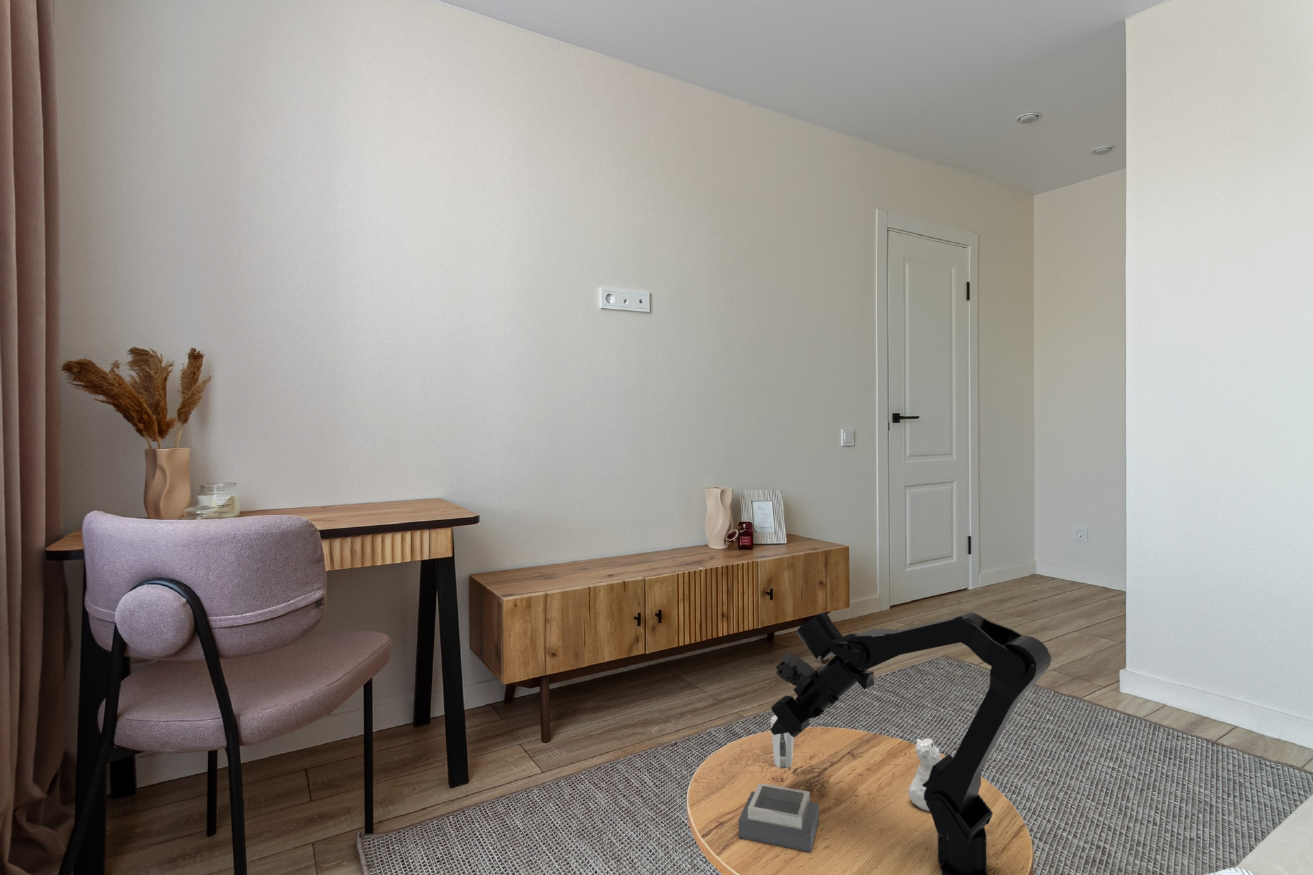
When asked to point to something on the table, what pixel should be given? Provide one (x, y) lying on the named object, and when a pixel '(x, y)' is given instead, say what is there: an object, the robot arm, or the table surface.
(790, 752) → the milkshake
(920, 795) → the seated beast figurine
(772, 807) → the grey open rectangular box
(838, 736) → the table surface
